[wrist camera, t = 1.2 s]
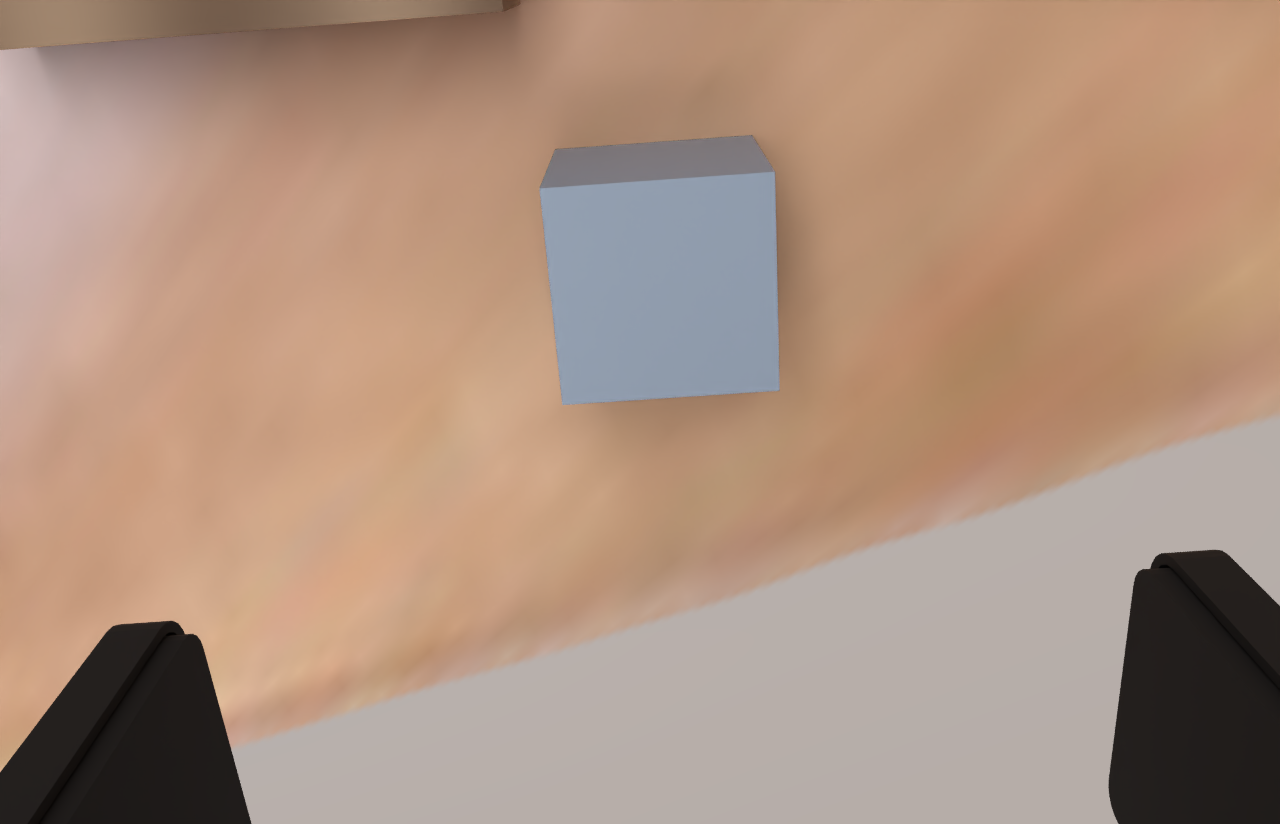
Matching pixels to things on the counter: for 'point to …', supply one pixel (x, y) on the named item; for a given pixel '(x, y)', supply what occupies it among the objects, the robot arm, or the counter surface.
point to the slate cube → (662, 269)
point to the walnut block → (202, 17)
